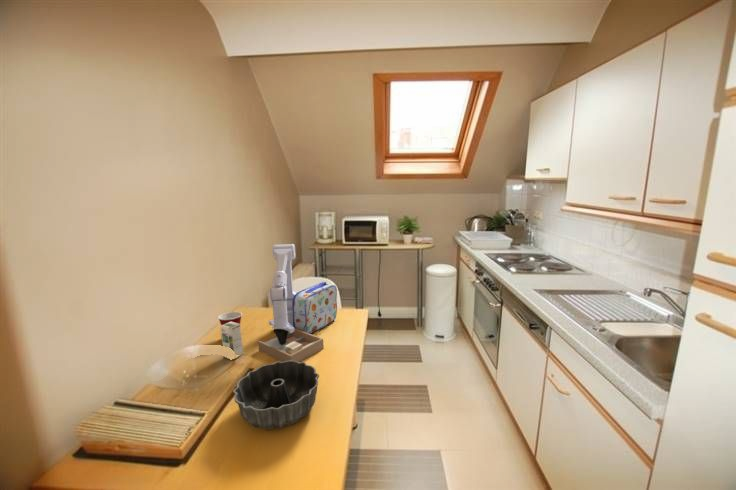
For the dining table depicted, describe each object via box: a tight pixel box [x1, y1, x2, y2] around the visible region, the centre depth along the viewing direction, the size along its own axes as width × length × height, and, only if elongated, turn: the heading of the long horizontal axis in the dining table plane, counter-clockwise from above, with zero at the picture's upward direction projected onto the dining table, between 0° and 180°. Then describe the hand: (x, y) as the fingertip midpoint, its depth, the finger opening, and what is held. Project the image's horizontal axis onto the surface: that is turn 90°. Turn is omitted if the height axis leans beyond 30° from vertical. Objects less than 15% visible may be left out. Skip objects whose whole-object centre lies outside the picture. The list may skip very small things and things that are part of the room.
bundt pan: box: [232, 361, 320, 430], centre depth 107 cm, size 26×26×10 cm
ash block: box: [285, 341, 302, 355], centre depth 140 cm, size 5×5×3 cm
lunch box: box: [292, 281, 338, 334], centre depth 168 cm, size 28×10×22 cm, turn 150°
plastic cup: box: [217, 311, 243, 327], centre depth 158 cm, size 11×11×12 cm
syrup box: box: [220, 322, 244, 356], centre depth 141 cm, size 6×6×14 cm
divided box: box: [257, 328, 325, 363], centre depth 147 cm, size 22×18×4 cm
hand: (282, 343), depth 144 cm, fingers closed
